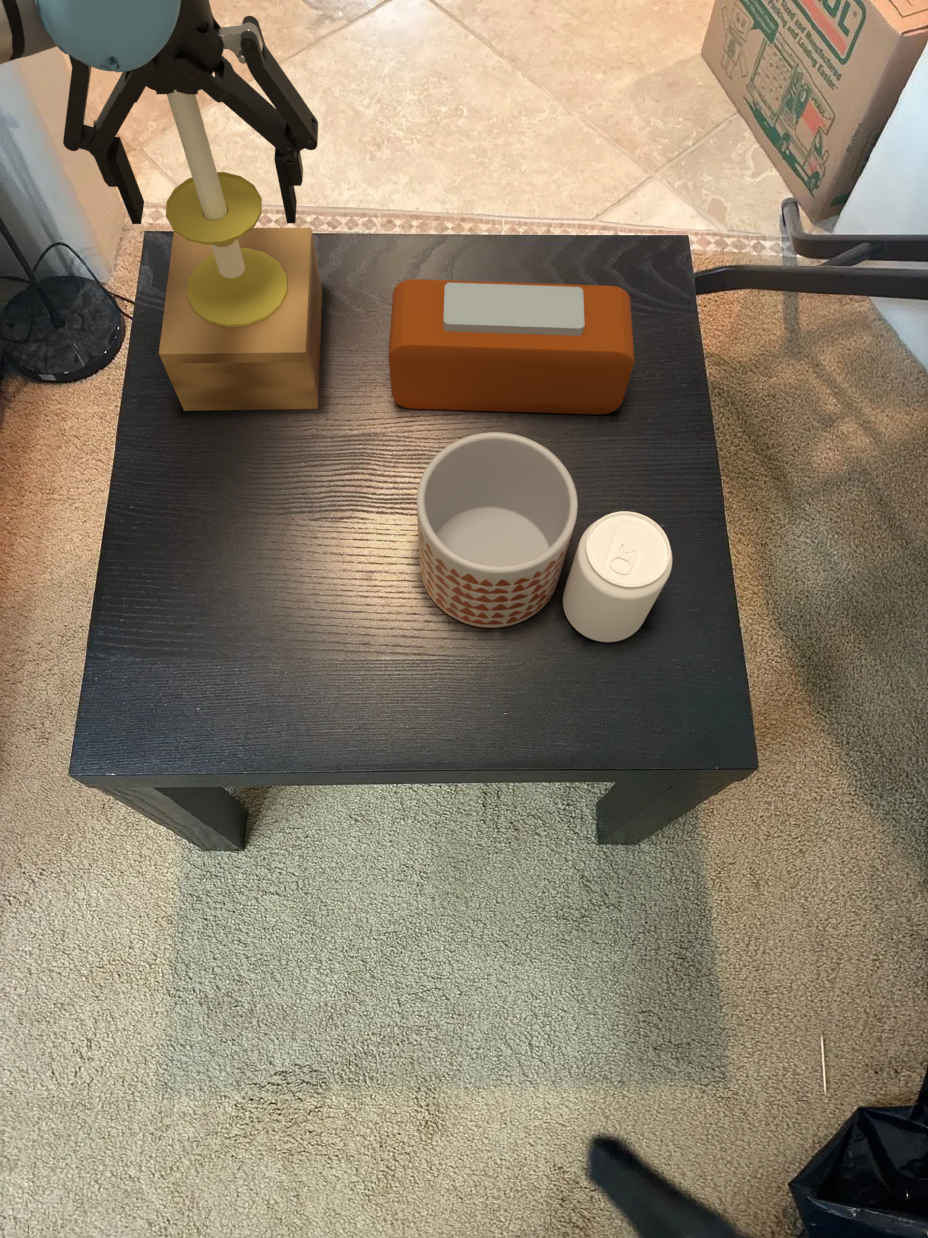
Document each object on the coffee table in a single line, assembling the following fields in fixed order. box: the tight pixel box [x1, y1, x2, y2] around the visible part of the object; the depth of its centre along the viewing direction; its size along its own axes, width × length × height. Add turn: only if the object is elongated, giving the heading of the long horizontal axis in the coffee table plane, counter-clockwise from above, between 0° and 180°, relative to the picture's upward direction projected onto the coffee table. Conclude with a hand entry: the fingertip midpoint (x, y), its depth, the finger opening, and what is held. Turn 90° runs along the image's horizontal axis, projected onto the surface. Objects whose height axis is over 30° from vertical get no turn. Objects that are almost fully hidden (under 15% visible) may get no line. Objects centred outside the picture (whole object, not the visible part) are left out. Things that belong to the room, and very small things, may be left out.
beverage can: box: [562, 510, 673, 643], centre depth 78 cm, size 8×8×12 cm
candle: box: [165, 90, 288, 328], centre depth 74 cm, size 10×10×27 cm
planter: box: [416, 431, 579, 629], centre depth 79 cm, size 14×14×13 cm
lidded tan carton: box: [158, 227, 323, 412], centre depth 90 cm, size 14×16×9 cm
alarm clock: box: [388, 278, 635, 415], centre depth 89 cm, size 24×8×11 cm, turn 89°
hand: (215, 212), depth 78 cm, fingers open, 13 cm apart
